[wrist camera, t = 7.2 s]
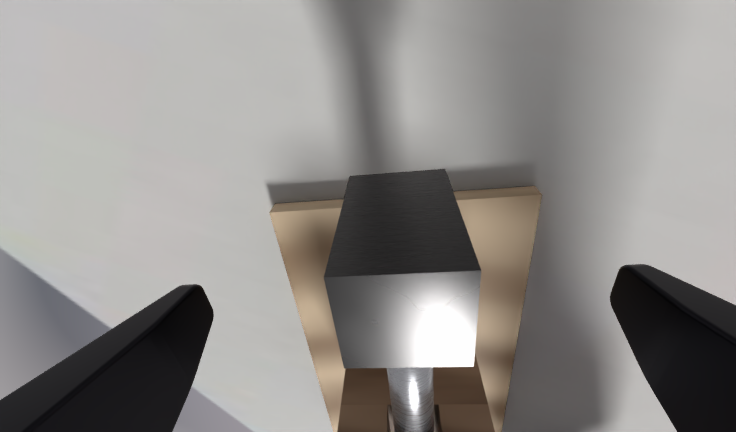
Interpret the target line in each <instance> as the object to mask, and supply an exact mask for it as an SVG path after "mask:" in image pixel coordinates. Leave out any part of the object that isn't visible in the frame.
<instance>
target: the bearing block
mask: <svg viewBox="0 0 736 432" xmlns="http://www.w3.org/2000/svg"><path fill="white" fill-rule="evenodd" d="M433 386H434V432H495V430H494V426H493V422H492V418H491V414H490V410H489V406H488V402H487V398H486V394H485V390H484V386H483V382H482V378H481V374H480V370H479V366H478V362H477V358H476V354H475V357H474V367H433ZM337 432H395V431H394V423H393V415H392V407H391V399H390V391H389V383H388V375H387V368H346V369H345V376H344V384H343V391H342V399H341V407H340V415H339V422H338V430H337Z"/></svg>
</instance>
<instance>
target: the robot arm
mask: <svg viewBox="0 0 736 432" xmlns="http://www.w3.org/2000/svg"><path fill="white" fill-rule="evenodd" d="M610 302H611V306H612V308H613V311H614V313H615V315H616V317H617V319H618V321H619V323H620V325H621V328H622V330H623V332H624V334H625V336H626V338H627V340H628V343H629V345H630V347H631V349H632V351H633V353H634V355H635V357H636V360H637V362H638V364H639V366H640V368H641V370H642V372H643V374H644V376H645V378H646V380H647V381H648V383H649V385H650V387H651V388H652V390H653V392H654V394H655V395H656V397H657V399H658V400H659V402H660V404H661V405H662V407H663V409H664V410H665V412H666V414H667V415H668V417H669V419H670V420H671V422H672V424H673V425H674V427H675V429H676V430H677V432H736V305H734V304H732V303H730V302H727V301H725V300H723V299H721V298H719V297H717V296H714V295H712V294H710V293H708V292H706V291H704V290H701V289H699V288H697V287H695V286H693V285H691V284H688V283H686V282H684V281H682V280H680V279H678V278H675V277H673V276H671V275H669V274H667V273H665V272H662V271H660V270H658V269H656V268H654V267H652V266H649V265H646V264H635V265H624V266H622V267H621V268H620V269H619V271H618V274H617V277H616V280H615V283H614V286H613V289H612V291H611V295H610ZM212 322H213V309H212V307H211V304H210V302H209V300H208V298H207V296H206V294H205V292H204V290H203V288H202V287H201V286H200V285H197V284H193V285H181V286H179V287H177V288H176V289H174V290H172V291H171V292H169V293H168V294H166V295H165V296H163V297H161V298H160V299H158V300H157V301H155V302H154V303H152V304H150V305H149V306H147V307H146V308H144V309H143V310H141V311H139V312H138V313H136V314H135V315H133V316H132V317H130V318H128V319H127V320H125V321H124V322H122V323H121V324H119V325H117V326H116V327H114V328H113V329H111V330H110V331H108V332H107V333H105V334H103V335H102V336H100V337H99V338H97V339H96V340H94V341H92V342H91V343H89V344H88V345H86V346H85V347H83V348H81V349H80V350H78V351H77V352H75V353H74V354H72V355H70V356H69V357H67V358H66V359H64V360H62V361H61V362H60V363H58V364H56V365H55V366H53V367H52V368H50V369H48V370H47V371H45V372H44V373H42V374H40V375H39V376H37V377H36V378H34V379H33V380H31V381H30V382H28V383H26V384H25V385H23V386H22V387H20V388H18V389H17V390H16V391H14V392H12V393H11V394H9V395H8V396H6V397H4V398H3V399H1V400H0V432H172V431H173V429H174V426H175V424H176V422H177V419H178V417H179V415H180V412H181V410H182V408H183V405H184V403H185V401H186V398H187V396H188V394H189V391H190V389H191V386H192V383H193V381H194V378H195V375H196V372H197V369H198V366H199V363H200V359H201V356H202V353H203V350H204V347H205V344H206V341H207V337H208V334H209V331H210V328H211V325H212Z"/></svg>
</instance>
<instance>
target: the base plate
mask: <svg viewBox="0 0 736 432" xmlns="http://www.w3.org/2000/svg"><path fill="white" fill-rule="evenodd" d="M454 195H455V198H456V201H457V204H458V206H459V209H460V212H461V215H462V218H463V220H464V223H465V226H466V229H467V232H468V234H469V237H470V240H471V243H472V246H473V248H474V251H475V254H476V257H477V260H478V262H479V265H480V268H481V282H480V295H479V307H478V320H477V332H476V345H475V354H476V358H477V362H478V366H479V370H480V374H481V378H482V382H483V386H484V390H485V394H486V398H487V402H488V406H489V410H490V414H491V418H492V422H493V426H494V430H495V432H502V426H503V420H504V414H505V408H506V403H507V397H508V391H509V385H510V379H511V373H512V368H513V362H514V356H515V350H516V344H517V338H518V333H519V327H520V321H521V315H522V309H523V303H524V298H525V292H526V286H527V280H528V274H529V268H530V263H531V257H532V251H533V245H534V239H535V233H536V227H537V222H538V216H539V210H540V204H541V198H542V194H541V193H540V192H539V190H538V189H537V188H536V187H535V186H527V187H513V188H498V189H484V190H469V191H454ZM343 201H344V199H337V200H323V201H308V202H294V203H279V204H275V205H274V206H273V208H272V209H271V211H270V216H271V220H272V223H273V226H274V230H275V233H276V237H277V240H278V244H279V247H280V250H281V254H282V257H283V261H284V264H285V267H286V271H287V274H288V278H289V281H290V285H291V288H292V291H293V295H294V298H295V302H296V305H297V309H298V312H299V315H300V319H301V322H302V326H303V329H304V332H305V336H306V339H307V343H308V346H309V350H310V353H311V356H312V360H313V363H314V367H315V370H316V373H317V377H318V380H319V384H320V387H321V391H322V394H323V397H324V401H325V404H326V408H327V411H328V414H329V418H330V421H331V425H332V428H333V432H337V430H338V422H339V415H340V407H341V399H342V391H343V384H344V376H345V369H344V366H343V362H342V357H341V353H340V348H339V344H338V339H337V335H336V330H335V326H334V322H333V317H332V313H331V308H330V304H329V299H328V295H327V290H326V286H325V281H324V274H325V270H326V266H327V262H328V259H329V255H330V251H331V247H332V243H333V239H334V235H335V231H336V228H337V224H338V220H339V216H340V212H341V208H342V204H343Z"/></svg>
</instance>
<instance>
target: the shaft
mask: <svg viewBox="0 0 736 432" xmlns="http://www.w3.org/2000/svg"><path fill="white" fill-rule="evenodd" d="M324 281H325V286H326V290H327V295H328V299H329V304H330V308H331V313H332V317H333V322H334V326H335V330H336V335H337V339H338V344H339V348H340V353H341V357H342V362H343V366H344V369H346V368H387V375H388V383H389V391H390V399H391V407H392V415H393V423H394V431H395V432H434V386H433V367H474V357H475V345H476V332H477V320H478V307H479V295H480V282H481V268H480V265H479V262H478V260H477V257H476V254H475V251H474V248H473V246H472V243H471V240H470V237H469V234H468V232H467V229H466V226H465V223H464V220H463V218H462V215H461V212H460V209H459V206H458V204H457V201H456V198H455V195H454V192H453V190H452V187H451V184H450V181H449V178H448V176H447V173H446V170H445V169H438V170H425V171H412V172H399V173H385V174H372V175H359V176H350V177H349V181H348V185H347V189H346V193H345V197H344V201H343V204H342V208H341V212H340V216H339V220H338V224H337V228H336V231H335V235H334V239H333V243H332V247H331V251H330V255H329V259H328V262H327V266H326V270H325V274H324Z"/></svg>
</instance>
